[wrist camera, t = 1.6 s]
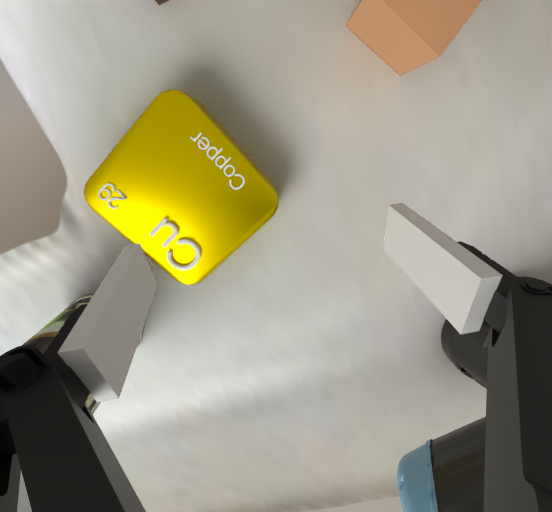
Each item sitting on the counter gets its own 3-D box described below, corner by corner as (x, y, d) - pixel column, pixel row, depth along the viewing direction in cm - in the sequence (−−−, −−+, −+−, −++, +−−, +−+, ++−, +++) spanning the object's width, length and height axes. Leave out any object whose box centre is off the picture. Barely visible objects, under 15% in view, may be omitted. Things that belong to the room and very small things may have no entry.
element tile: (285, 196, 32) (287, 205, 28) (198, 276, 36) (188, 295, 32) (185, 85, 28) (169, 75, 24) (98, 189, 32) (70, 197, 27)
